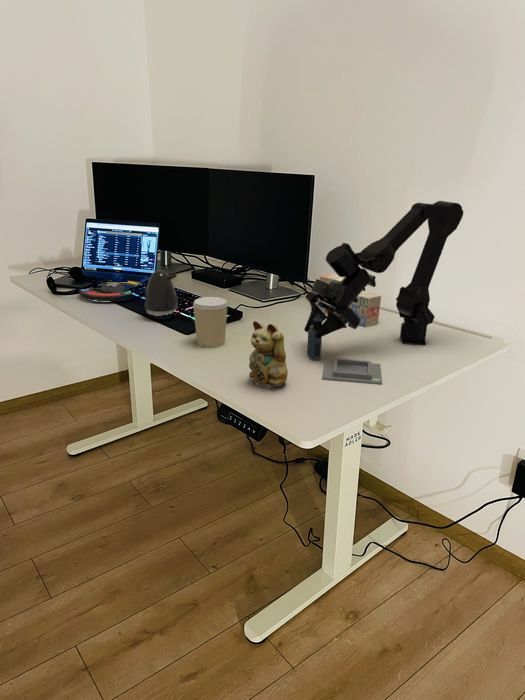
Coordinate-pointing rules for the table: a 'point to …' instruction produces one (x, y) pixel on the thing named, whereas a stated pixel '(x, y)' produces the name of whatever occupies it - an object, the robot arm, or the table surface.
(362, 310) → the stack of blocks
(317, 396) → the table surface
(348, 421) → the table surface
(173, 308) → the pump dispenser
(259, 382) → the decorative figurine
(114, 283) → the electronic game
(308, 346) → the vaping device
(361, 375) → the dock
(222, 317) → the coffee cup
